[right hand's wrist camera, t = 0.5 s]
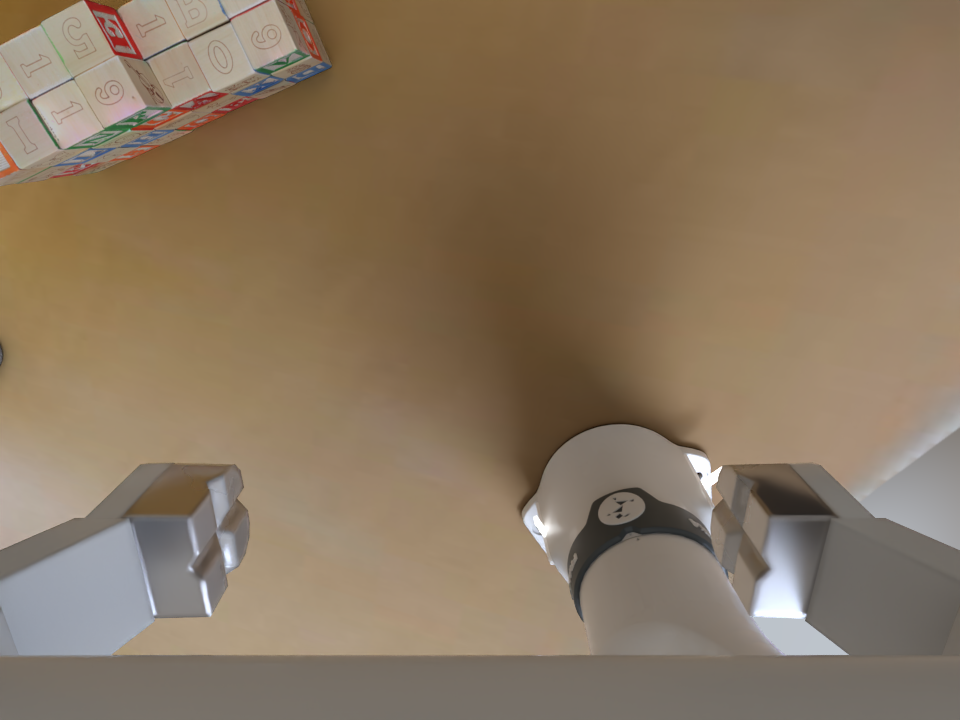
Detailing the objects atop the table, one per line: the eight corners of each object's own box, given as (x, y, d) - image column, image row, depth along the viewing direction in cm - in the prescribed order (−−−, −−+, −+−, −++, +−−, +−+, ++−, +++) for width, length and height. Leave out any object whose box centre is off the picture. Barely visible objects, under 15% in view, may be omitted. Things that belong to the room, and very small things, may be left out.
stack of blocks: (296, -23, 43) (229, -77, 31) (334, 67, 45) (285, 47, 33) (48, 96, 46) (-97, 86, 34) (95, 175, 48) (-25, 190, 36)
